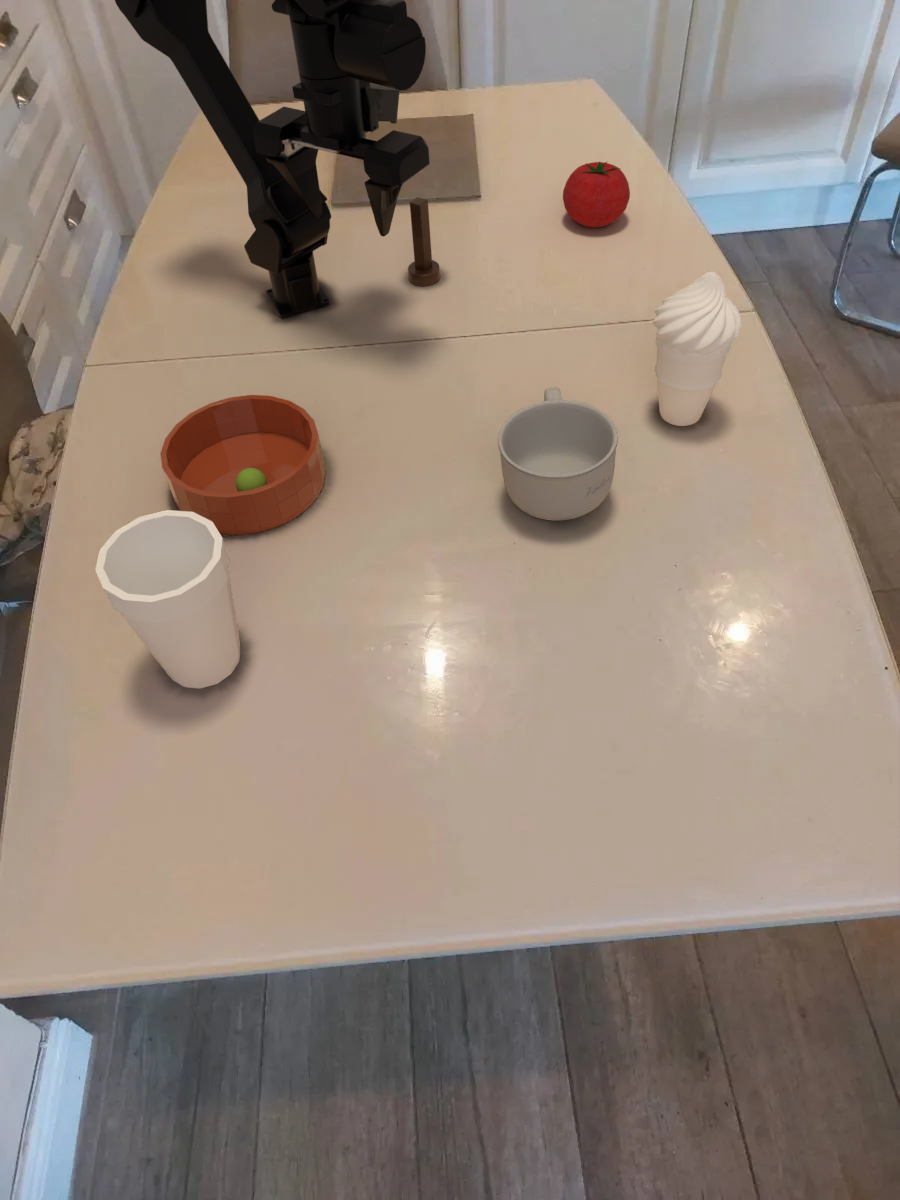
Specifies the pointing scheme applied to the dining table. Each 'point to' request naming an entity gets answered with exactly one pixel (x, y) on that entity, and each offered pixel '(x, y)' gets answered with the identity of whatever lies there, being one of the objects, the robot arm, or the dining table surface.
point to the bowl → (244, 462)
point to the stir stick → (422, 246)
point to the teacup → (558, 457)
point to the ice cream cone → (692, 347)
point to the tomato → (596, 194)
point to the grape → (250, 479)
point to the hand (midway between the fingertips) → (350, 225)
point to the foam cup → (175, 593)
